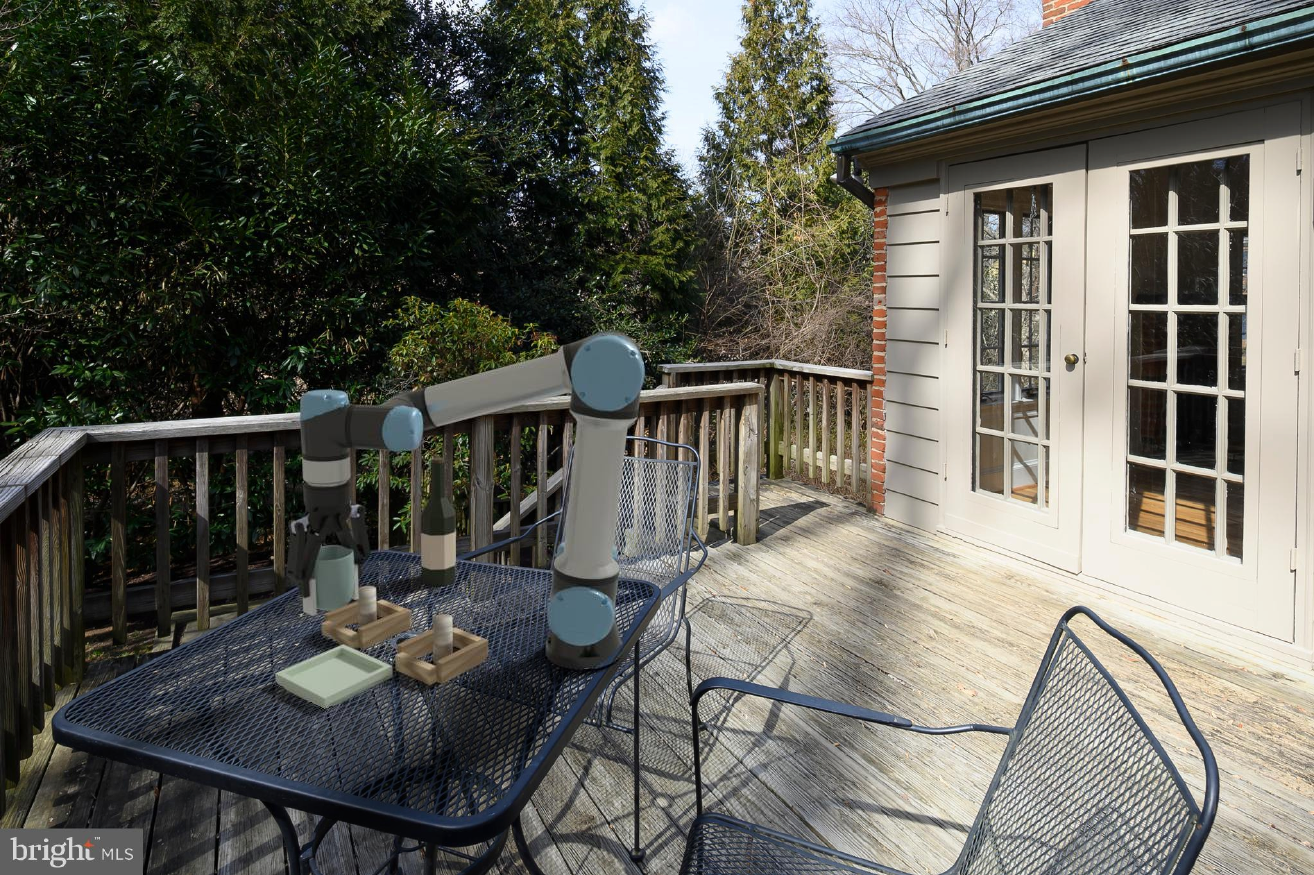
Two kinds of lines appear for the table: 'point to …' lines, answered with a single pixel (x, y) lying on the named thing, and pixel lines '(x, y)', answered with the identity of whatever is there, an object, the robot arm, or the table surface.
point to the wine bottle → (438, 532)
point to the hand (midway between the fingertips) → (331, 604)
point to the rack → (425, 643)
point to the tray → (334, 676)
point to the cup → (334, 577)
